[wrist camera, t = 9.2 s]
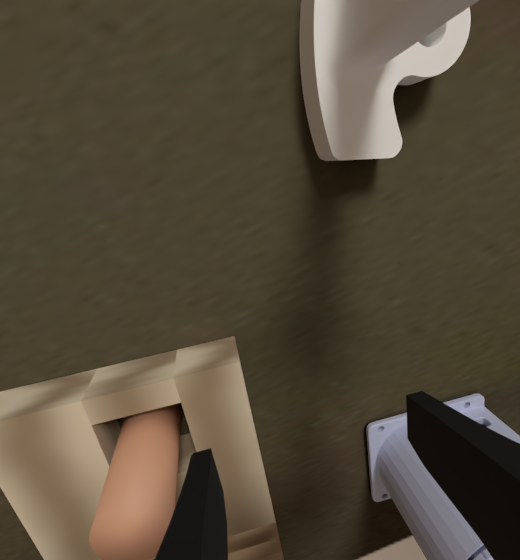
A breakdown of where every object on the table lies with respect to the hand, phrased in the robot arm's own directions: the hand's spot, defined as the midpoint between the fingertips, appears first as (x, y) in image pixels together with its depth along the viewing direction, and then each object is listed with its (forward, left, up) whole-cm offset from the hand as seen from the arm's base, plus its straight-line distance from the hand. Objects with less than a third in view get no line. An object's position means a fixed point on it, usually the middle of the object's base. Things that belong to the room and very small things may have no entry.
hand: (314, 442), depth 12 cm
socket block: (+9, +8, -10) cm, 16 cm away
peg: (+8, +4, -10) cm, 13 cm away
